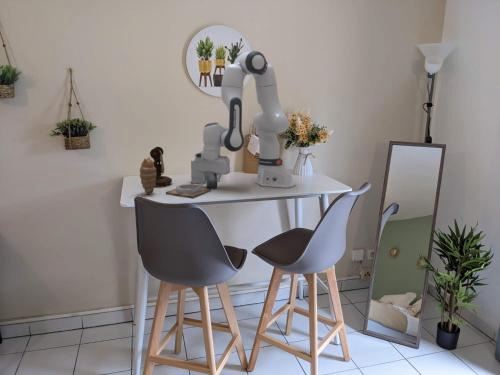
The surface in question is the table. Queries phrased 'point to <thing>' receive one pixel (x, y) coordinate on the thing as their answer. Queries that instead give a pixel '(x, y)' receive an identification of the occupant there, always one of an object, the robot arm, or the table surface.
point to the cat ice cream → (148, 175)
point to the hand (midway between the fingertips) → (212, 180)
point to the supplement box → (196, 175)
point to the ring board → (173, 192)
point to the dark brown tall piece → (159, 166)
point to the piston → (211, 180)
